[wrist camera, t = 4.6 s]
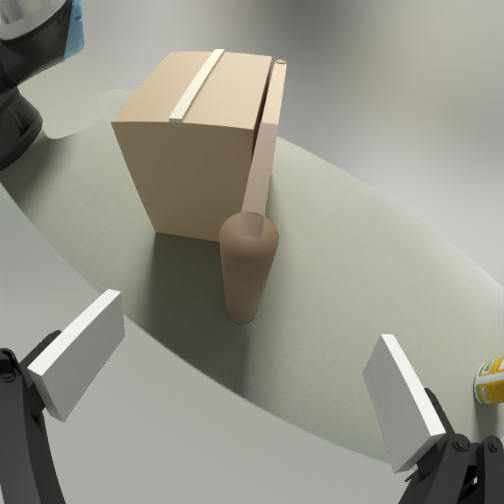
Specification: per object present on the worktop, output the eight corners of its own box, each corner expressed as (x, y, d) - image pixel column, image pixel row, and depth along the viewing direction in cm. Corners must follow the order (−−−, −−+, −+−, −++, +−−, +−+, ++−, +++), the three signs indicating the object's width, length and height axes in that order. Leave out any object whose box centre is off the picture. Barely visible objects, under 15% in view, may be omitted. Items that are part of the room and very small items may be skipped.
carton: (185, 155, 32) (171, 49, 19) (259, 164, 32) (272, 53, 19) (155, 232, 27) (109, 118, 14) (243, 246, 27) (253, 125, 14)
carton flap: (256, 158, 31) (268, 54, 19) (276, 161, 31) (295, 58, 19) (224, 325, 23) (213, 258, 11) (252, 330, 23) (275, 268, 11)
